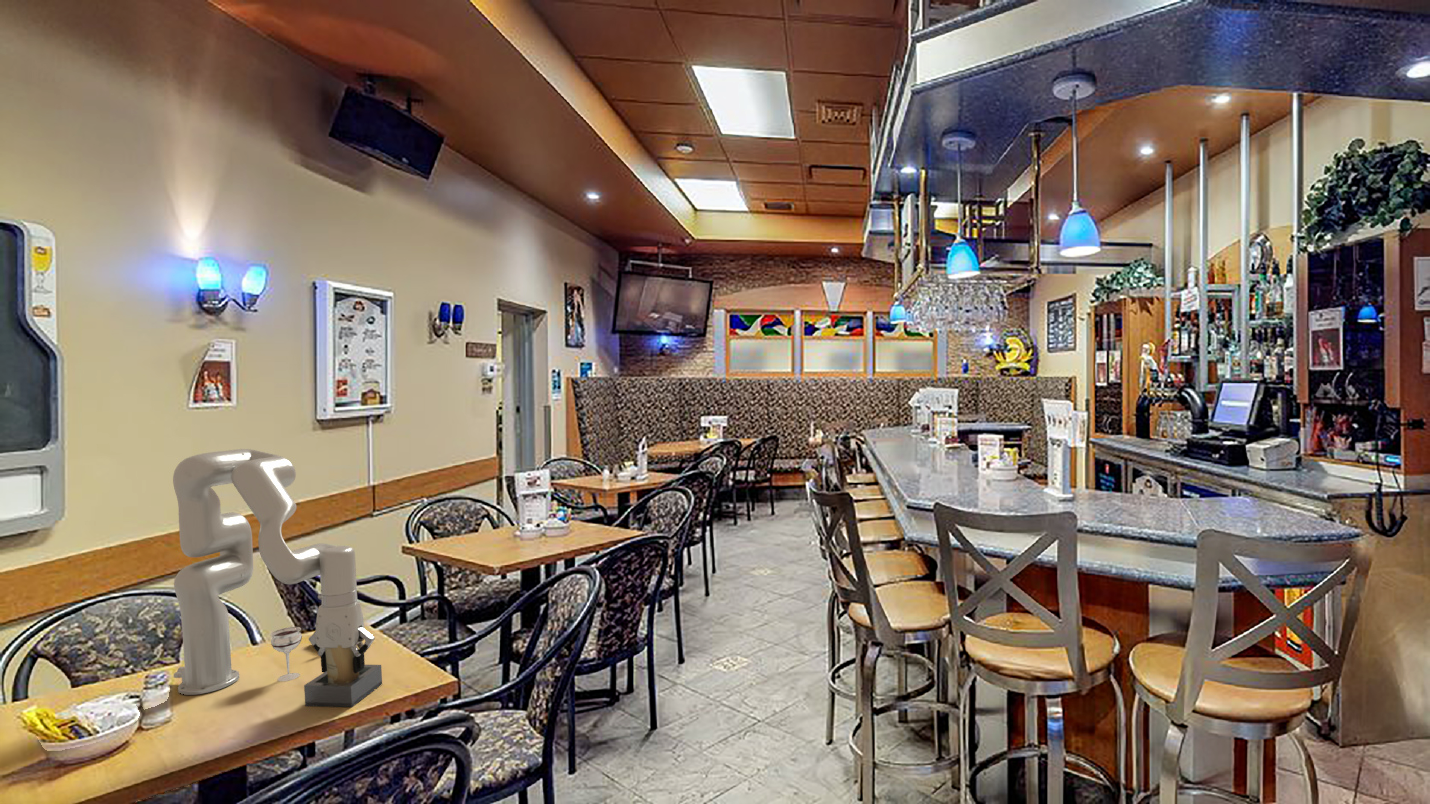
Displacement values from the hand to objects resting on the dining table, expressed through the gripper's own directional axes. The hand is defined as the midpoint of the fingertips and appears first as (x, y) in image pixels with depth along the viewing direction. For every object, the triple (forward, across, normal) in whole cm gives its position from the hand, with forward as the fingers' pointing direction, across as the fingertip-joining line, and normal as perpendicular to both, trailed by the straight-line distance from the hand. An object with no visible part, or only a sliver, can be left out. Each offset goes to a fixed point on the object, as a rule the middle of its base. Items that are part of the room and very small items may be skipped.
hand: (343, 670), depth 166 cm
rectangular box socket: (+6, 0, 0) cm, 6 cm away
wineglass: (+6, -22, +9) cm, 25 cm away
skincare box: (+5, 0, 0) cm, 5 cm away
